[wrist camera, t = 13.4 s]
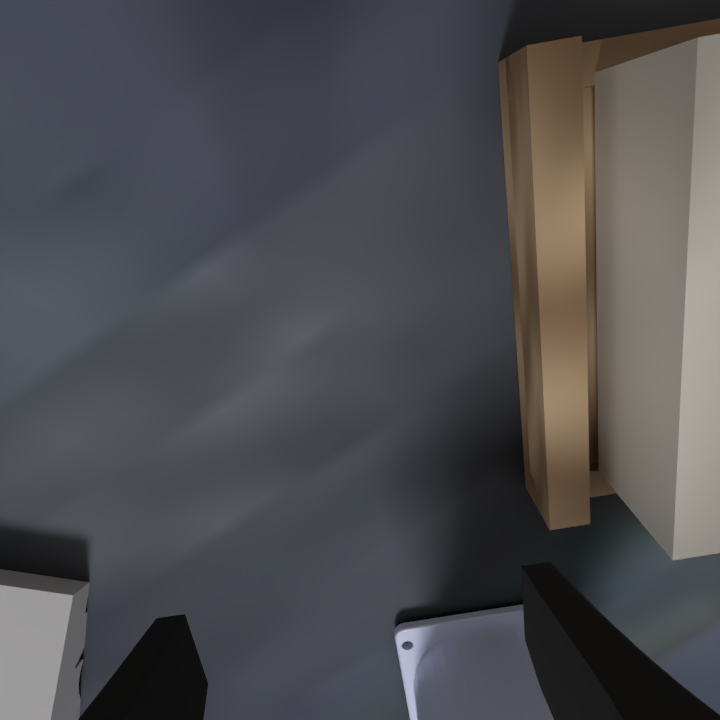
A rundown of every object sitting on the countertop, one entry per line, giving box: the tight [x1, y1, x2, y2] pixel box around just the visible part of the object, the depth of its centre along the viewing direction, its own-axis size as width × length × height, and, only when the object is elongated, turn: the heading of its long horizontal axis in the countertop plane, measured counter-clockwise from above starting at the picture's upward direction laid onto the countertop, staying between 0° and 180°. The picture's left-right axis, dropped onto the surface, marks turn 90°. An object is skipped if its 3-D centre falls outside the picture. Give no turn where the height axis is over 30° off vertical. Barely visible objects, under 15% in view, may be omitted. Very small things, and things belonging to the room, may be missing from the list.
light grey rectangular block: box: [594, 34, 720, 560], centre depth 16 cm, size 14×4×5 cm, turn 9°
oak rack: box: [498, 18, 720, 530], centre depth 19 cm, size 16×9×3 cm, turn 9°
